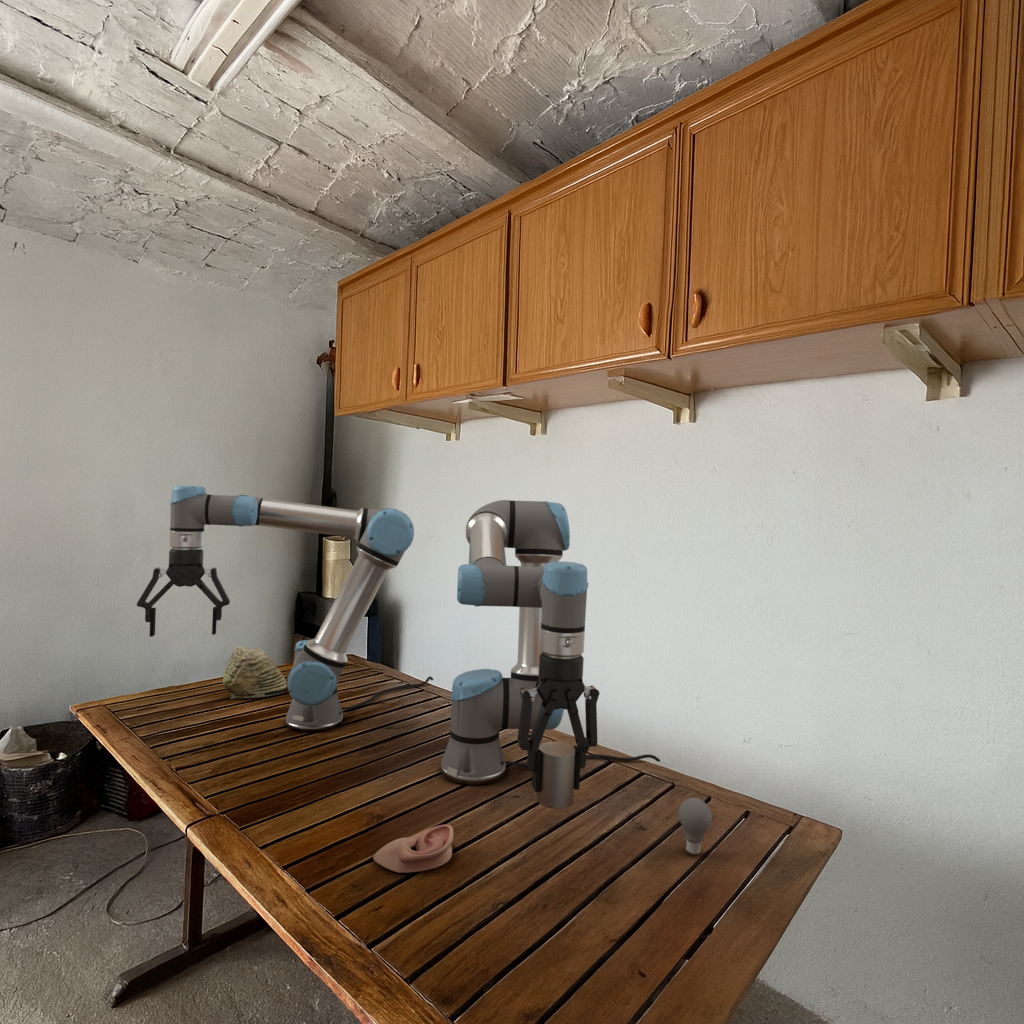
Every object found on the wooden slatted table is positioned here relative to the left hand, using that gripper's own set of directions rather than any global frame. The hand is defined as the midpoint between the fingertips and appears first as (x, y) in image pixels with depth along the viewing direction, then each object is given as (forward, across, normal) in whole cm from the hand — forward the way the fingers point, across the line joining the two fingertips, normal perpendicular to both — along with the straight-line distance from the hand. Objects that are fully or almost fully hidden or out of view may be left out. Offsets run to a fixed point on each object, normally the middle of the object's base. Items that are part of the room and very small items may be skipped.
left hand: (183, 634), depth 156 cm
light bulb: (+28, +95, -77) cm, 125 cm away
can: (+14, +66, -76) cm, 102 cm away
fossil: (+28, +16, +38) cm, 50 cm away
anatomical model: (+28, +45, -64) cm, 83 cm away
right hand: (+12, +66, -76) cm, 102 cm away
